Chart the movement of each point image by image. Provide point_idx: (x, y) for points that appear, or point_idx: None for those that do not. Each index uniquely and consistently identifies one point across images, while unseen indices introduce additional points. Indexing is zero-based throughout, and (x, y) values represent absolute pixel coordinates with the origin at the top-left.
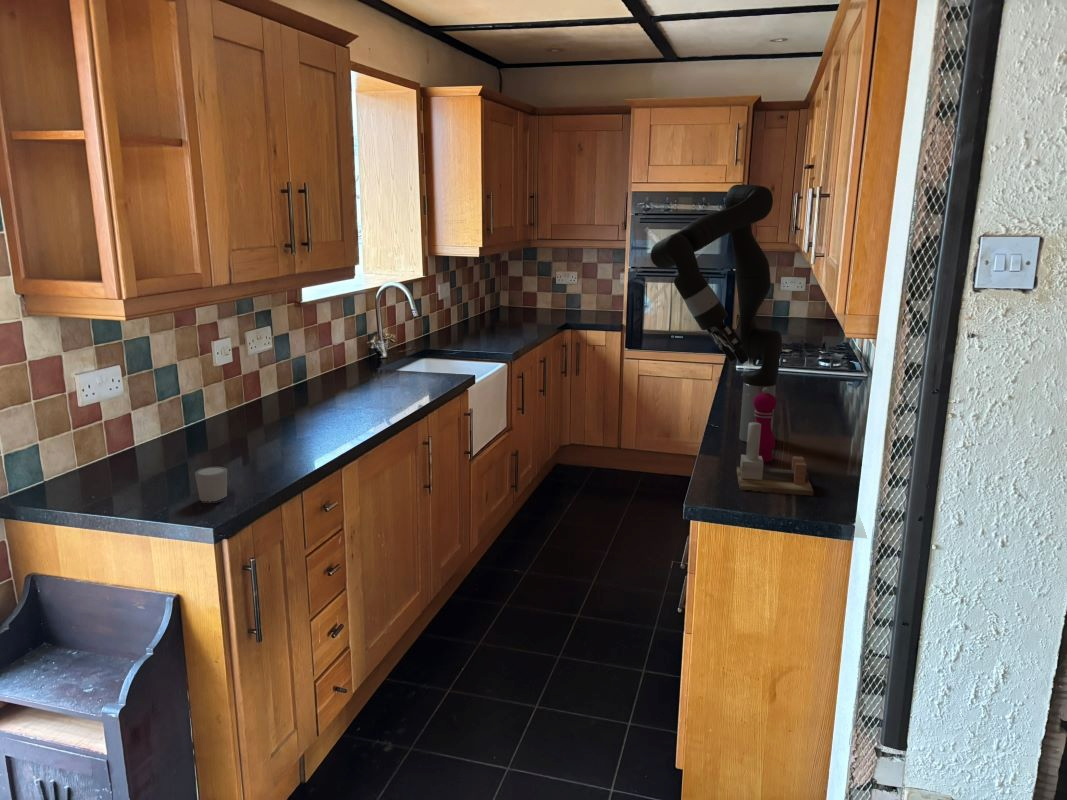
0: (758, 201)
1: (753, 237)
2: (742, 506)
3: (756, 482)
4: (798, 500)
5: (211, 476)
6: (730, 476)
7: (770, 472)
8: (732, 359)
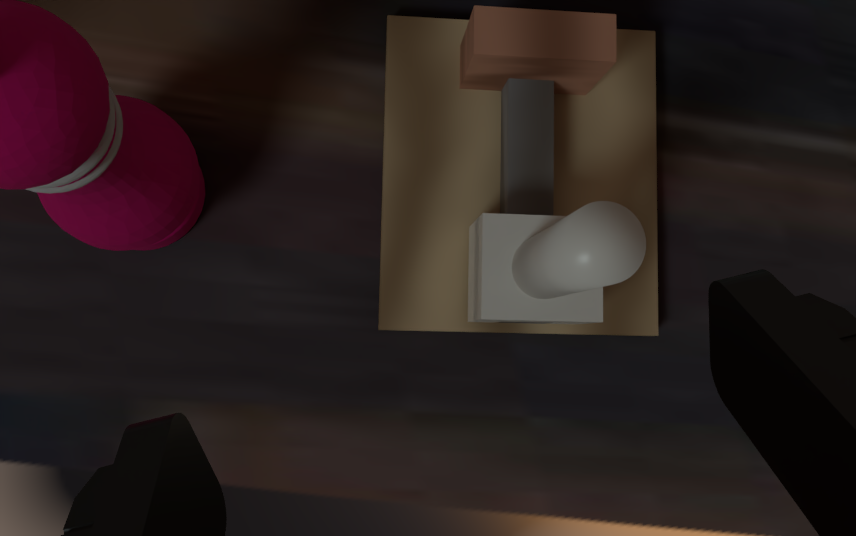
0: None
1: None
2: None
3: None
4: (716, 108)
5: None
6: (467, 364)
7: (553, 186)
8: (210, 484)
